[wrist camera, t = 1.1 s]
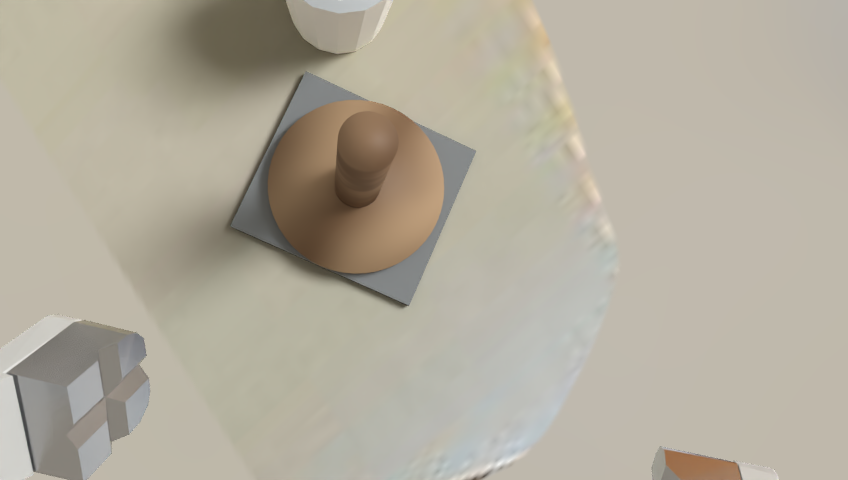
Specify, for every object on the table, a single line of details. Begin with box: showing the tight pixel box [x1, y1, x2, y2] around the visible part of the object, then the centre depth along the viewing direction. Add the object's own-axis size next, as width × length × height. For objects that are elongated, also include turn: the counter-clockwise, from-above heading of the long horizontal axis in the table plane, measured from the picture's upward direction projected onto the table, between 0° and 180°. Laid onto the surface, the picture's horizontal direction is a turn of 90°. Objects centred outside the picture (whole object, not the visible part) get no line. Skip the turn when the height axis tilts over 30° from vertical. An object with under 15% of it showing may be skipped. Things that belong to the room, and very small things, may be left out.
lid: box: [268, 100, 444, 274], centre depth 35 cm, size 10×10×11 cm
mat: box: [230, 71, 476, 306], centre depth 40 cm, size 11×10×1 cm
